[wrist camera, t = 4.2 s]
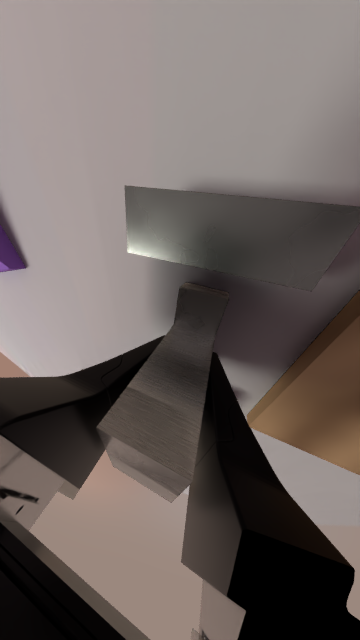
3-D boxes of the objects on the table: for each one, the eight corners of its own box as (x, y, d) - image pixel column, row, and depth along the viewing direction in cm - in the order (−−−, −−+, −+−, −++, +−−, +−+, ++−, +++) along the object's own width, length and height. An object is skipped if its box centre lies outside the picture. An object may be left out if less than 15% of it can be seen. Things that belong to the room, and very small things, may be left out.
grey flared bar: (228, 292, 8) (232, 442, 2) (200, 370, 13) (169, 505, 6) (186, 282, 9) (68, 364, 2) (172, 359, 13) (114, 470, 6)
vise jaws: (310, 226, 6) (370, 207, 4) (214, 401, 14) (211, 433, 11) (158, 207, 8) (124, 185, 5) (149, 374, 16) (134, 397, 13)
